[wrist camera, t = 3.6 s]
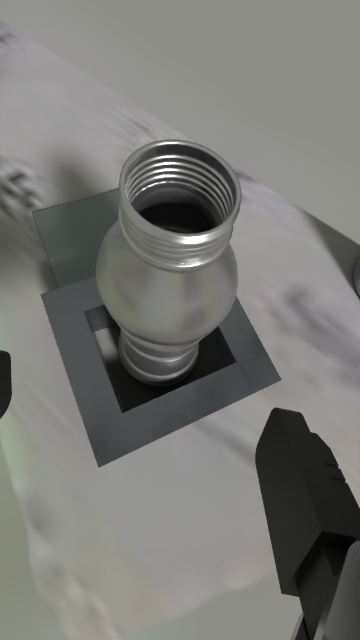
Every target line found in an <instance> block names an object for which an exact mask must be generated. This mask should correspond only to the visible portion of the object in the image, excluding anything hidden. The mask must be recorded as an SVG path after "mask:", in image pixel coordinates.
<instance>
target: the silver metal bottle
mask: <svg viewBox="0 0 360 640" xmlns="http://www.w3.org/2000/svg"><path fill="white" fill-rule="evenodd" d="M119 195H120V204H119V212H118V216H119V220H118V221H117V222H116V223H115V224H114V225H113V226H112V227H111V228H110V229H109V230H108V232H107V234H106V235H105V237H104V239H103V241H102V244H101V247H100V250H99V254H98V257H97V264H96V282H97V287H98V290H99V293H100V296H101V298H102V300H103V302H104V304H105V306H106V308H107V310H108V311H109V313H110V315H111V316H112V318H113V319H114V320H115V321H116V323H117V324H118V325H119V326H120V328H121V332H120V336H119V354H120V357H121V360H122V363H123V364H124V366H125V368H126V369H127V371H128V372H129V373H130V374H131V375H132V376H133V377H135V378H136V379H137V380H139V381H141V382H143V383H145V384H148V385H152V386H161V387H162V386H169V385H172V384H175V383H178V382H179V381H181V380H183V379H184V378H185V377H186V376H187V375H188V374H190V372H191V371H192V369H193V368H194V366H195V364H196V361H197V357H198V352H199V341H200V340H201V339H203V338H204V337H205V336H207V335H208V334H210V333H211V332H212V331H213V330H214V329H215V328H216V327H217V326H218V325H219V324H220V323H221V322H222V321H223V320H224V319H225V317H226V316H227V314H228V313H229V311H230V310H231V308H232V305H233V303H234V301H235V298H236V292H237V286H238V275H237V262H236V258H235V255H234V251H233V249H232V247H231V245H230V243H229V241H230V238H231V236H232V231H233V224H234V222H235V220H236V218H237V215H238V213H239V209H240V204H241V198H242V197H241V187H240V183H239V180H238V178H237V176H236V174H235V172H234V170H233V169H232V168H231V167H230V165H229V164H228V163H227V162H226V161H225V160H224V159H223V158H222V157H221V156H219V155H218V154H217V153H215V152H214V151H212V150H210V149H209V148H207V147H204V146H202V145H200V144H197V143H193V142H190V141H184V140H177V139H174V140H161V141H155V142H152V143H149V144H146V145H144V146H142V147H141V148H139V149H137V150H136V151H135V152H134V153H133V154H131V155H130V156H129V158H128V159H127V160H126V162H125V163H124V165H123V168H122V170H121V173H120V180H119Z"/></svg>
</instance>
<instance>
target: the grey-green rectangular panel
mask: <svg viewBox="0 0 360 640" xmlns="http://www.w3.org/2000/svg"><path fill="white" fill-rule="evenodd" d="M119 204H120V195H119V190H116V191H112V192H108V193H105V194H101V195H97V196H94V197H90V198H86V199H82V200H79V201H75V202H71V203H67V204H64V205H60V206H56V207H52V208H49V209H45V210H41V211H38V212H34V213H32V214H33V217H34V220H35V223H36V225H37V228H38V231H39V234H40V237H41V239H42V242H43V245H44V248H45V251H46V253H47V256H48V259H49V262H50V265H51V267H52V270H53V273H54V276H55V279H56V281H57V284H58V287H59V288H61V287H64V286H67V285H70V284H73V283H76V282H79V281H82V280H85V279H88V278H91V277H95V276H96V264H97V257H98V254H99V250H100V247H101V244H102V241H103V239H104V237H105V235H106V234H107V232H108V230H109V229H110V228H111V227H112V226H113V225H114V224H115V223H116V222H117V221H118V220H119V216H118V212H119Z"/></svg>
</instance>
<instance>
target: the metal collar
mask: <svg viewBox="0 0 360 640" xmlns="http://www.w3.org/2000/svg"><path fill="white" fill-rule="evenodd" d="M41 297H42V300H43V303H44V306H45V309H46V312H47V315H48V318H49V321H50V324H51V327H52V330H53V333H54V336H55V339H56V342H57V345H58V348H59V351H60V354H61V357H62V360H63V363H64V366H65V369H66V372H67V375H68V378H69V381H70V384H71V387H72V390H73V393H74V396H75V399H76V402H77V405H78V408H79V411H80V414H81V417H82V420H83V423H84V426H85V429H86V431H87V434H88V437H89V440H90V443H91V446H92V449H93V452H94V455H95V458H96V461H97V464H98V467H101V466H103V465H105V464H107V463H109V462H111V461H113V460H116V459H118V458H120V457H122V456H124V455H126V454H128V453H130V452H132V451H134V450H136V449H138V448H141V447H143V446H145V445H147V444H149V443H151V442H153V441H155V440H157V439H159V438H161V437H163V436H166V435H168V434H170V433H172V432H174V431H176V430H178V429H180V428H182V427H184V426H186V425H189V424H191V423H193V422H195V421H197V420H199V419H201V418H203V417H205V416H207V415H209V414H211V413H214V412H216V411H218V410H220V409H222V408H224V407H226V406H228V405H230V404H232V403H234V402H236V401H239V400H241V399H243V398H245V397H247V396H249V395H251V394H253V393H255V392H257V391H259V390H262V389H264V388H266V387H268V386H270V385H272V384H274V383H276V382H278V381H280V380H281V378H280V376H279V374H278V372H277V371H276V369H275V367H274V365H273V363H272V361H271V360H270V358H269V356H268V354H267V352H266V350H265V348H264V347H263V345H262V343H261V341H260V339H259V337H258V335H257V334H256V332H255V330H254V328H253V326H252V324H251V323H250V321H249V319H248V317H247V315H246V313H245V311H244V310H243V308H242V306H241V304H240V302H239V300H238V299H237V297H236V298H235V301H234V303H233V305H232V308H231V310H230V311H229V313H228V314H227V316H226V317H225V319H224V320H223V321H222V322H221V323H220V324H219V325H218V326H217V327H216V328H215V329H214V330H213V331H212V332H211V333H210V334H208V335H207V336H205V337H204V339H205V341H206V343H207V345H208V348H209V350H210V352H211V354H212V356H213V358H214V360H215V362H216V364H217V366H218V368H219V370H218V371H216V372H214V373H212V374H209V375H207V376H205V377H203V378H200V379H198V380H196V381H194V382H191V383H189V384H187V385H185V386H182V387H180V388H178V389H176V390H173V391H171V392H169V393H167V394H164V395H162V396H160V397H158V398H155V399H153V400H151V401H149V402H147V403H144V404H142V405H140V406H138V407H135V408H133V409H131V410H129V411H126V412H124V409H123V407H122V404H121V401H120V399H119V396H118V393H117V391H116V388H115V385H114V383H113V380H112V378H111V375H110V372H109V370H108V367H107V364H106V362H105V359H104V356H103V354H102V351H101V348H100V346H99V343H98V340H97V338H96V335H95V332H96V331H98V330H101V329H104V328H106V327H109V326H112V325H114V324H117V323H116V321H115V320H114V319H113V318H112V316H111V315H110V313H109V311H108V310H107V308H106V306H105V304H104V302H103V300H102V298H101V296H100V293H99V290H98V287H97V282H96V276H95V277H91V278H88V279H85V280H82V281H79V282H76V283H73V284H70V285H67V286H64V287H61V288H58V289H55V290H52V291H49V292H46V293H43V294H41Z"/></svg>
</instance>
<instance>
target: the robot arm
mask: <svg viewBox="0 0 360 640" xmlns="http://www.w3.org/2000/svg"><path fill="white" fill-rule="evenodd" d="M354 284H355V287H356V290H357V292H358V294H359V296H360V258H359V259H358V261H357V263H356V265H355V268H354ZM11 396H12V385H11V357H10V354H9V353H8V352H6V351H1V350H0V419H1V417H2V416H3V415H4V414H5V412H6V410H7V408H8V406H9V404H10V401H11ZM255 462H256V469H257V474H258V479H259V484H260V489H261V494H262V499H263V504H264V509H265V514H266V519H267V524H268V529H269V534H270V539H271V544H272V549H273V554H274V559H275V564H276V569H277V574H278V578H279V584H280V589H281V593H282V594H287V595H292V596H297V597H299V598H300V602H301V606H302V610H303V612H302V613H301V615H300V617H299V618H298V621H297V623H296V626H295V629H294V631H293V634H292V637H291V639H290V640H360V508H359V506H358V504H357V502H356V500H355V498H354V496H353V494H352V492H351V490H350V488H349V486H348V484H347V483H345V478H344V476H343V474H342V472H341V470H340V469H338V466H339V465H338V463H337V461H336V459H335V457H334V455H333V453H332V451H331V449H330V448H329V447H328V446H327V445H326V444H325V442H324V441H323V440H322V439H321V438H320V437H319V436H318V435H317V434H316V433H312V432H310V430H309V428H308V426H307V423H306V421H305V419H304V417H303V415H302V414H301V413H300V412H295V411H291V410H286V409H281V408H274V409H273V410H272V411H271V413H270V416H269V418H268V420H267V423H266V425H265V427H264V430H263V432H262V435H261V437H260V439H259V442H258V444H257V448H256V455H255Z"/></svg>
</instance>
